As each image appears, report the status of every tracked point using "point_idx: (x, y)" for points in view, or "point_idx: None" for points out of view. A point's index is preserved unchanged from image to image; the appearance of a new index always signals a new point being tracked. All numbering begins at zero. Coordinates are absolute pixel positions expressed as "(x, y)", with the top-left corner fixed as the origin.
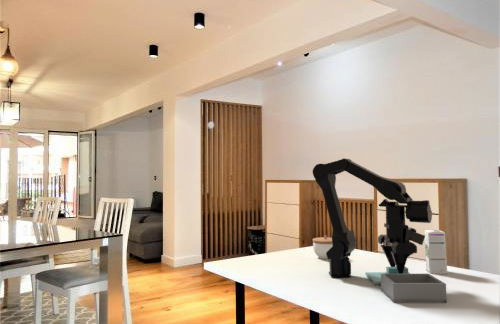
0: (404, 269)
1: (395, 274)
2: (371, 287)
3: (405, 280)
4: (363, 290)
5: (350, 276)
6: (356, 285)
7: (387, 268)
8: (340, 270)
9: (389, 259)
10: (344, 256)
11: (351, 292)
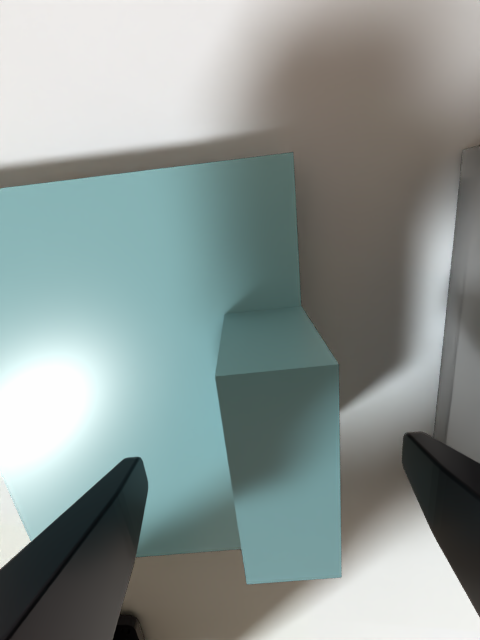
0: (337, 407)
1: None
2: (348, 539)
3: None
4: (412, 581)
5: (132, 624)
6: (305, 600)
7: (289, 570)
8: None
9: (106, 633)
10: None
11: (445, 630)
